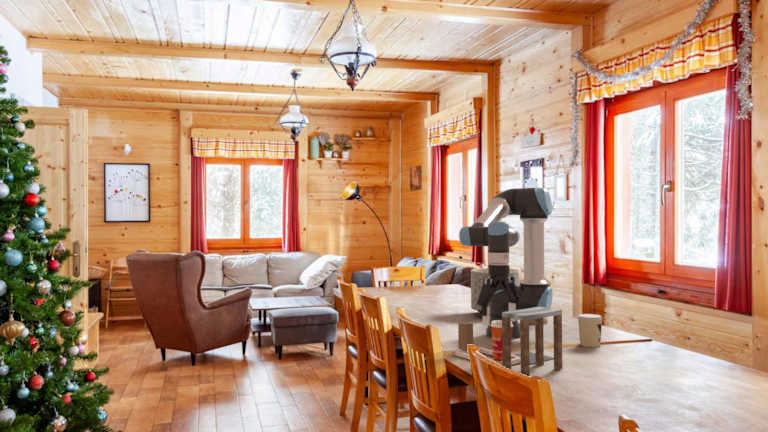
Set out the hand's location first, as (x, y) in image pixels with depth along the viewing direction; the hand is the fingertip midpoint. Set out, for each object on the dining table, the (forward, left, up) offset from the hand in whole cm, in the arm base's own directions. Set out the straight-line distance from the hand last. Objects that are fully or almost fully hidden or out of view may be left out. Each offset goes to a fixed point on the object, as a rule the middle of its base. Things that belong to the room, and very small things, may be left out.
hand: (499, 322), depth 216 cm
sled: (-7, 0, -14) cm, 16 cm away
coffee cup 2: (+3, +49, -15) cm, 51 cm away
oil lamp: (-43, +71, -15) cm, 84 cm away
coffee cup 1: (+1, 0, -15) cm, 15 cm away
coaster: (+2, +13, -14) cm, 20 cm away
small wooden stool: (+15, 0, -14) cm, 21 cm away
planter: (-70, +71, -15) cm, 101 cm away
